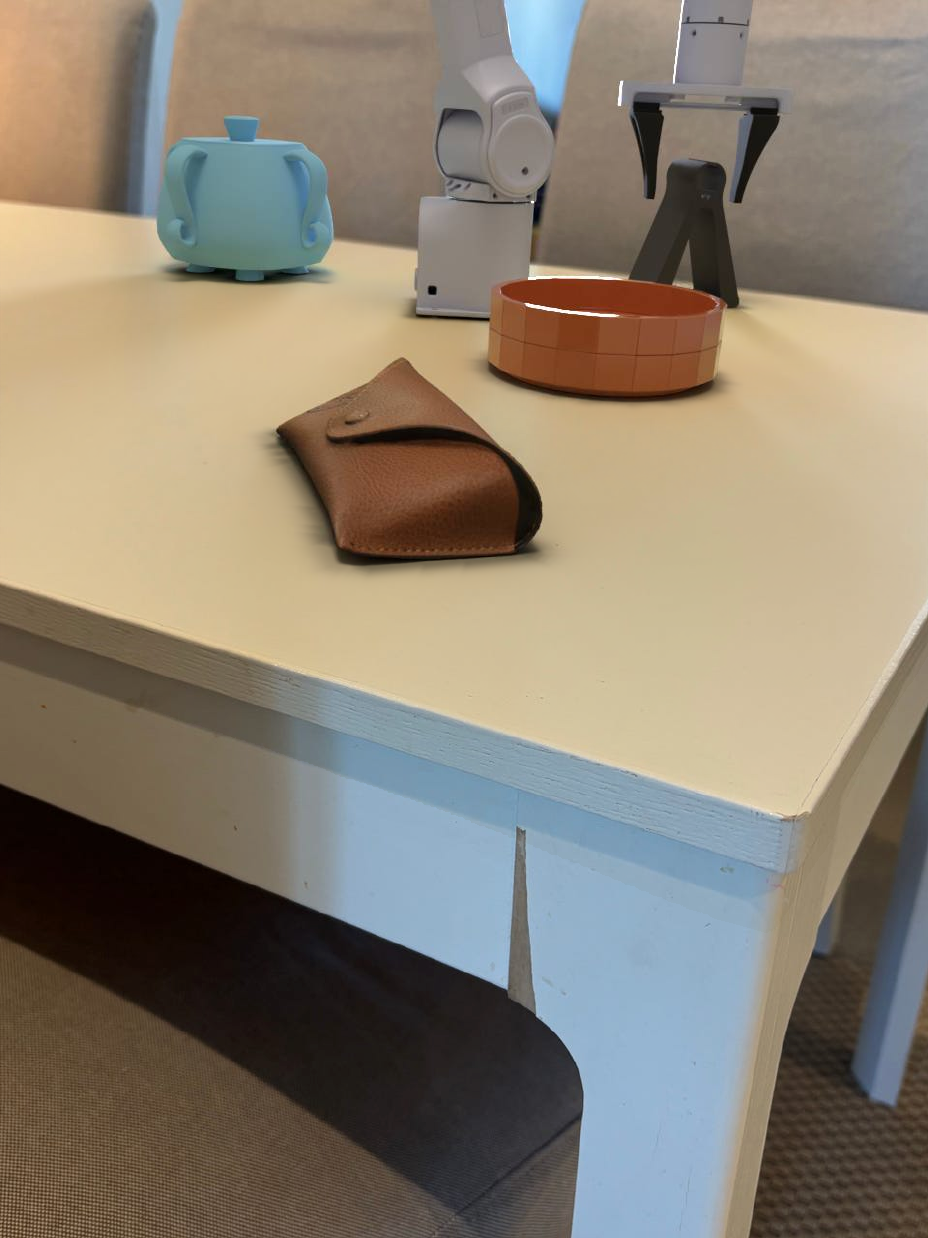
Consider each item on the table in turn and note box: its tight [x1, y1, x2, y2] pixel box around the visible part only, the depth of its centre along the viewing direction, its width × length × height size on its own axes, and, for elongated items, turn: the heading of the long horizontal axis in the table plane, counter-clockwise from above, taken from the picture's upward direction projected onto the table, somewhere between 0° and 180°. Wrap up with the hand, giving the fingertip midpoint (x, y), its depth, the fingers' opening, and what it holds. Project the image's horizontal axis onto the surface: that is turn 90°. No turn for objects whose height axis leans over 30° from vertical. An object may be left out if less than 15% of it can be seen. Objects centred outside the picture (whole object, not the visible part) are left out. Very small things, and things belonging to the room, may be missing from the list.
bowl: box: [487, 276, 728, 398], centre depth 71 cm, size 15×15×5 cm
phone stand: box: [627, 157, 740, 308], centre depth 96 cm, size 9×6×12 cm, turn 103°
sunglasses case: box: [275, 356, 544, 560], centre depth 49 cm, size 18×7×7 cm
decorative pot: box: [156, 115, 334, 282], centre depth 100 cm, size 16×16×14 cm
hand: (692, 200), depth 95 cm, fingers open, 7 cm apart
